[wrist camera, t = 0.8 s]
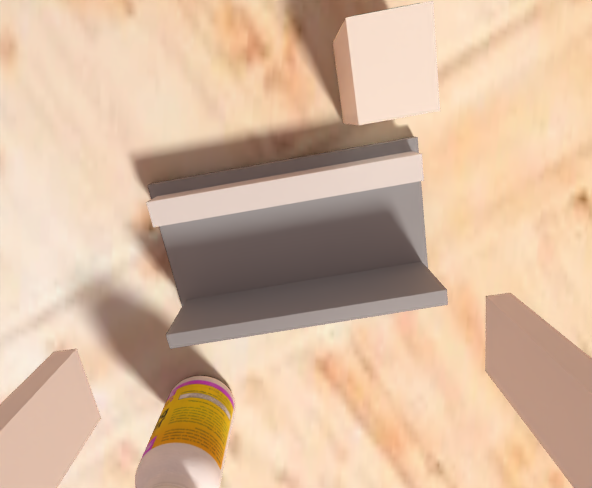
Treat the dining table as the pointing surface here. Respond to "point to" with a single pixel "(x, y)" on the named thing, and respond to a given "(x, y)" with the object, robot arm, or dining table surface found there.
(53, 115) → the dining table surface
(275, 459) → the dining table surface
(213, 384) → the supplement bottle
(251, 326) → the rail base
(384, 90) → the block
